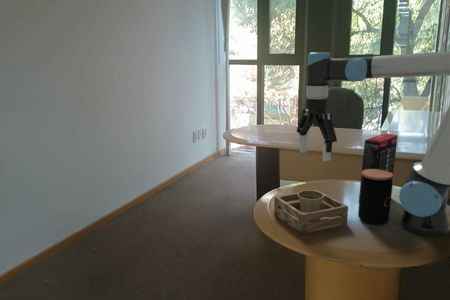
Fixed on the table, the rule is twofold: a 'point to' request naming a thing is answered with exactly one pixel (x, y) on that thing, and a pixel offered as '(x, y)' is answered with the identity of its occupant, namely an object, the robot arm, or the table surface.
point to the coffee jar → (375, 196)
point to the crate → (310, 213)
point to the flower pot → (310, 200)
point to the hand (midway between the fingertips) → (314, 156)
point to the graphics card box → (380, 153)
